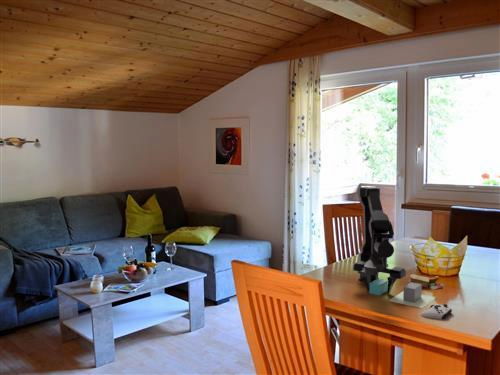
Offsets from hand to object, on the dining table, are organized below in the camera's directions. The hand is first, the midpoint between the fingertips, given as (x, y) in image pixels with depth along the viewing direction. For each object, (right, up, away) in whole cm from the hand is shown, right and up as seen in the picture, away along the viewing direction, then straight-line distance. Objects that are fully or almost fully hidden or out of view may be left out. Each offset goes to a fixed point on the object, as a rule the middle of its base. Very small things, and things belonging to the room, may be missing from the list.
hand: (378, 291), depth 179 cm
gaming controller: (+13, -4, -22) cm, 26 cm away
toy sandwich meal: (+21, -1, +8) cm, 22 cm away
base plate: (+10, -2, -8) cm, 13 cm away
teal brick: (0, -1, 0) cm, 1 cm away
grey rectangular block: (+10, -1, -8) cm, 13 cm away
